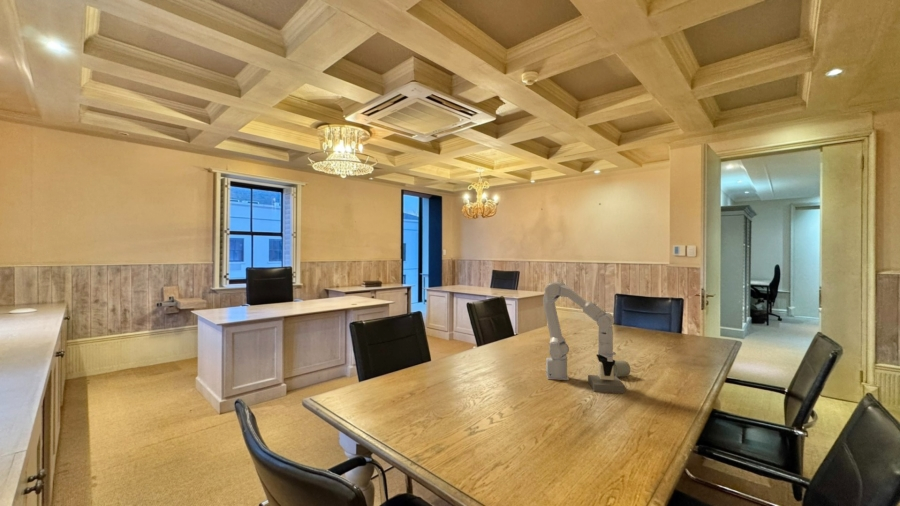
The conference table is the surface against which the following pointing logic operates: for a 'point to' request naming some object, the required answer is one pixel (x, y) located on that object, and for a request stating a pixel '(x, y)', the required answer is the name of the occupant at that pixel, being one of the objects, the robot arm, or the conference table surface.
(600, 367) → the cream block
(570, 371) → the conference table surface
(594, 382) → the gray plinth
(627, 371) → the ceramic mug
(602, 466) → the conference table surface
